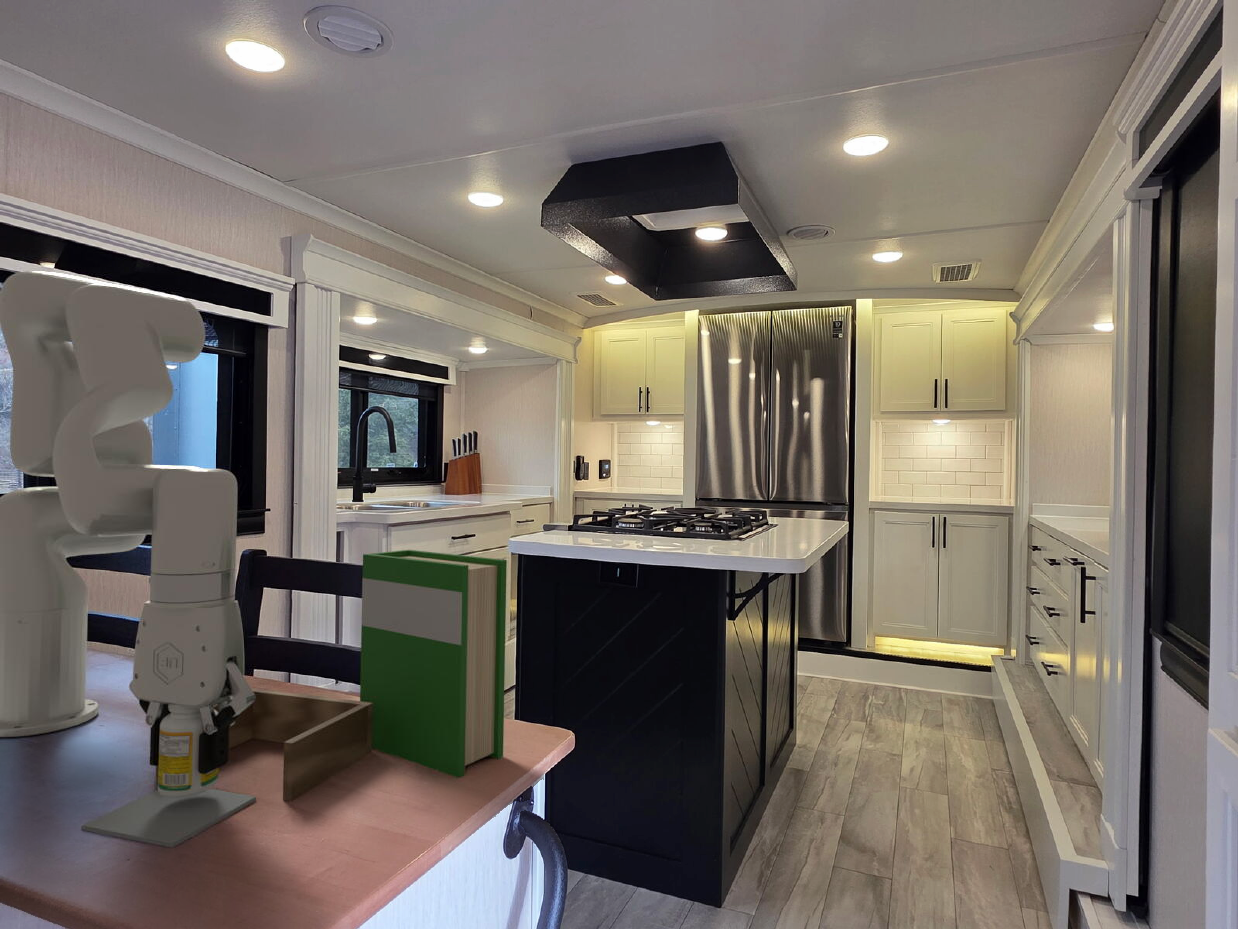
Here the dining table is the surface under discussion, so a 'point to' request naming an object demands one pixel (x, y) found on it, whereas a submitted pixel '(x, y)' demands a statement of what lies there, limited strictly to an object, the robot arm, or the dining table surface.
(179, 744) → the supplement bottle
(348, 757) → the wooden u-shaped frame
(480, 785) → the dining table surface
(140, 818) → the grey mat
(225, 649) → the robot arm
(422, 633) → the hardback book
